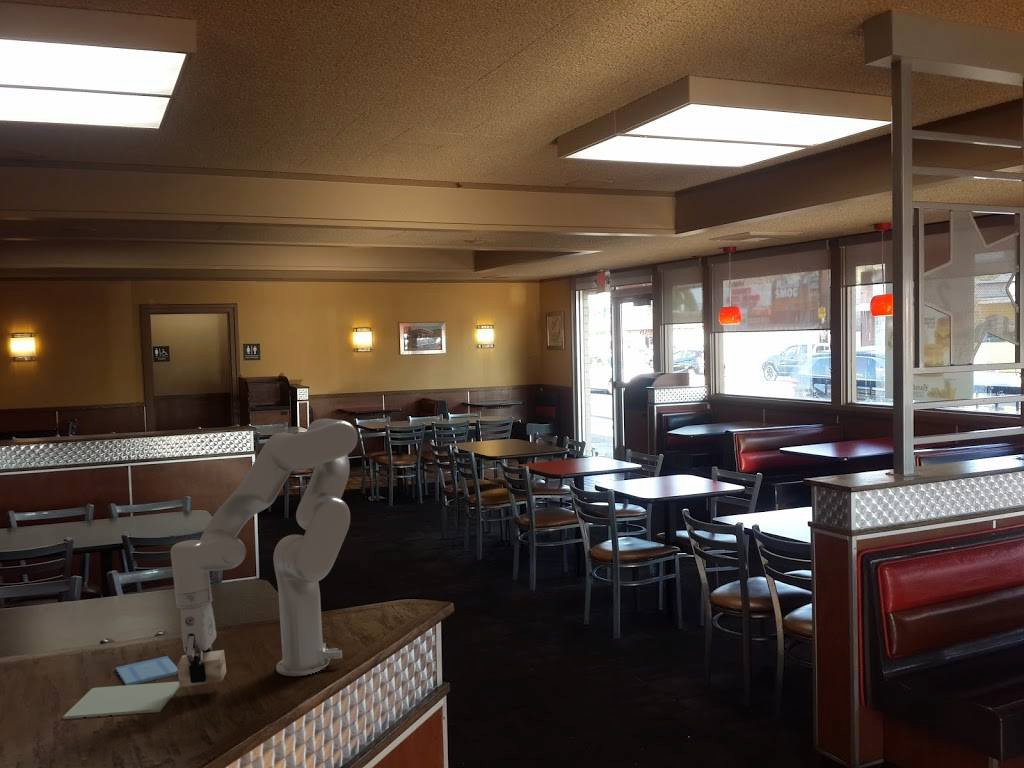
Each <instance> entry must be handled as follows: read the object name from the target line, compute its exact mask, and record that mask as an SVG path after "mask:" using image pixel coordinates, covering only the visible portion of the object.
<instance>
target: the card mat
mask: <svg viewBox="0 0 1024 768" xmlns="http://www.w3.org/2000/svg"><path fill="white" fill-rule="evenodd" d="M179 688H181V687H180V686H179V680H178V681H168V682H155V683H139V684H135V685H125V684H124V685H114V686H100V687H92V688H91V689H90V690H89V691H88V692H86V693H85V695H83V696H82V698H81V699H79V700H78V701H77V702H76V703H75V705H73V706H72V707H71V708H70V709H69V710H68V711H67V712H66V713H65V714H64V715H63V716H62V719H63V720H72V719H84V718H83V717H87V718H97V717H98V716H100V717H110V716H109V715H112V716H125V715H135V714H136V715H138V714H149V713H150V714H151V713H160V712H161V711H162V710H163V708H165V706H166V705H167V703H168V702H169V701H170V700H171V699H172V697H173V696H174V695H175V694H176V692H177V691H178V689H179ZM137 713H138V714H137ZM98 718H99V717H98Z"/></svg>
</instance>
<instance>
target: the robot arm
mask: <svg viewBox="0 0 1024 768" xmlns="http://www.w3.org/2000/svg"><path fill="white" fill-rule="evenodd" d="M358 438H359V437H358V432H357V429H356V428H355V427H354V426H353V424H351V423H350V422H348V421H346V420H342V419H333V418H319V419H316V420H314V421H312V422H311V423H310V424H309V426H308V427H307V430H305V431H303V432H298V433H292V432H291V433H290V432H278V433H274V434H272V435H271V436H270V437H269V438H267V440H266V441H265V443H264V445H263V447H262V448H261V450H260V452H259V454H258V455H257V457H256V459H255V460H254V461H253V463H252V465H251V466H250V468H249V470H248V472H247V473H246V475H245V476H244V478H243V479H242V481H241V483H240V484H239V486H238V487H237V488H236V489H235V490H234V491H233V493H232V494H230V496H229V497H228V498H227V499H225V501H224V502H223V503H222V504H221V505H220V507H219V508H218V509H217V510H216V511H215V512H214V514H213V516H212V517H211V519H210V521H209V523H208V524H207V525H206V528H205V529H204V530H203V533H202V534H201V537H200V539H188V540H184V541H180V542H177V543H175V544H174V545H172V547H171V549H170V560H171V568H172V569H171V570H172V577H173V578H172V579H173V586H174V592H175V593H174V594H175V603H176V608H178V609H180V625H181V626H180V628H181V636H182V639H181V640H182V646H183V651H184V652H185V655H186V656H187V658H188V665H189V672H190V680H191V683H197V682H205V681H206V673H205V665H204V663H203V653H205V652H212V651H213V645H212V644H213V643H214V642H215V640H216V638H217V628H216V622H215V615H214V609H213V606H212V602H213V593H212V585H211V576H210V575H211V574H210V572H212V571H225V570H232V569H235V568H236V567H238V566H240V564H242V563H243V561H244V560H245V558H246V555H247V548H246V545H245V543H244V542H243V541H242V540H241V539H240V538H238V537H237V536H238V535H239V534H240V532H241V530H242V528H244V526H245V525H246V523H247V522H248V521H249V520H251V518H253V517H254V516H256V515H257V514H258V513H261V512H262V511H264V510H266V509H268V508H269V507H270V506H271V505H272V504H274V503H275V500H276V499H277V497H278V495H279V494H280V491H281V490H282V488H283V486H284V485H285V483H286V481H287V480H288V478H289V477H290V475H291V473H292V472H301V471H304V470H308V469H311V468H313V471H312V475H311V477H310V480H309V482H308V484H307V485H306V489H305V490H304V493H303V495H302V497H301V500H300V502H299V504H298V505H297V509H296V513H295V518H296V522H297V524H298V525H299V526H300V527H301V528H302V529H303V530H305V533H304V535H302V534H290V535H287V536H284V537H283V538H281V539H280V540H279V541H278V543H277V545H276V546H275V547H274V552H273V559H272V560H273V567H274V573H275V577H276V581H277V582H276V583H277V590H278V603H279V604H278V605H279V608H278V609H279V620H280V621H279V622H280V637H281V638H280V639H281V655H282V659H281V660H280V661H279V662H277V663H276V665H275V666H276V672H277V673H278V674H280V675H283V676H285V677H286V676H288V677H302V676H309V675H308V674H310V675H313V674H312V673H314V674H316V673H315V672H317V673H319V672H318V671H320V670H322V669H323V668H324V667H326V666H327V665H328V664H329V662H330V660H331V659H334V660H337V659H338V660H339V659H343V649H340V650H339V648H338V647H335V648H329V647H327V644H326V642H324V641H323V623H322V622H323V621H322V609H321V608H322V607H321V606H322V605H321V591H320V583H319V581H322V580H323V579H324V578H325V577H326V576H328V574H330V571H331V569H332V568H333V566H334V564H335V562H336V560H337V557H338V554H339V552H340V550H341V547H342V545H343V543H344V541H345V538H346V536H347V534H348V531H349V528H350V525H351V512H350V508H349V506H348V504H347V503H346V501H344V500H343V499H342V497H343V495H344V493H345V492H344V491H345V489H346V487H347V484H348V481H349V476H350V460H349V459H350V458H349V454H350V453H352V451H353V450H354V449H356V446H357V443H358ZM196 648H197V649H196ZM198 653H199V658H198V656H197V655H195V654H198ZM320 672H321V671H320Z"/></svg>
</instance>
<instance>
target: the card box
mask: <svg viewBox="0 0 1024 768" xmlns="http://www.w3.org/2000/svg"><path fill="white" fill-rule="evenodd" d="M195 655H197V656H198V658H199V653H195ZM203 663H204V665H205V673H206V681H205V682H197V683H191V680H190V672H189V665H188V658H187V656H186V654H184V655H181V657H180V660H179V661H178V663H177V665H176V667H177V669H178V673H177V677H178V681H179V686H180V687H179V688H185V687H192V686H200V685H206V684H213V683H214V684H215V683H221V682H223V681H224V678H225V676H226V673H227V666H226V657H225V649H220V650H212V651H210V652H205V653H203Z"/></svg>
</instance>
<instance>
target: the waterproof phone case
mask: <svg viewBox="0 0 1024 768" xmlns="http://www.w3.org/2000/svg"><path fill="white" fill-rule="evenodd" d="M116 670H117V671H116ZM115 671H116V673H117V672H118V673H117V674H118V676H119V675H120V676H119V677H120V679H121V678H122V679H121V681H122V682H123V683H124V686H125V685H138V684H144V683H146V682H147V683H148V682H150V681H151V682H152V681H156V680H160V679H163V678H168V677H173V676H176V675H178V669H177V665H176V664H175V663H174V662H173V661H172V660H171V659H170V657H169V656H168V655H165V656H161V657H157V658H152V659H148V660H142V661H139V662H134V663H133V662H132V663H130V664H125V665H122V666H120V665H119V666H116V667H115Z"/></svg>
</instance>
